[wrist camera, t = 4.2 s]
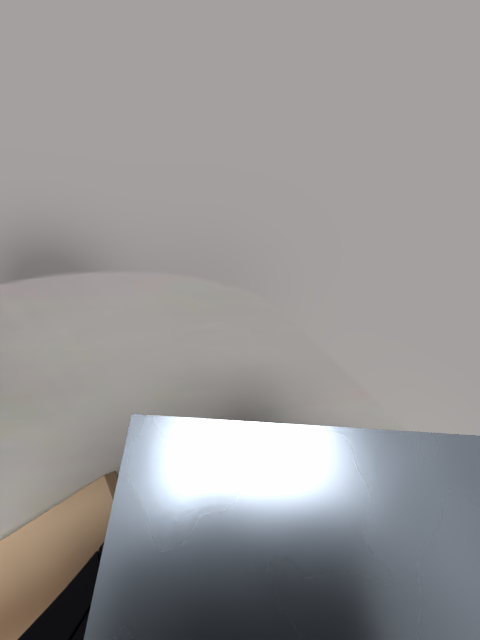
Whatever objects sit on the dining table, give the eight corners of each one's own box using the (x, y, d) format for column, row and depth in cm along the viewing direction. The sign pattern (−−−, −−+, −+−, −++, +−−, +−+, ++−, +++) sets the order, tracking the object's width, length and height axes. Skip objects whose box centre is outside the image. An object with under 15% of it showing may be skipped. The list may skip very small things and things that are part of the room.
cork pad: (177, 637, 13) (170, 661, 12) (-2, 785, 12) (-34, 833, 10) (115, 471, 16) (104, 475, 15) (-36, 566, 14) (-64, 581, 13)
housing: (297, 533, 13) (778, 1366, 2) (203, 527, 14) (-53, 1274, 2) (295, 430, 15) (493, 436, 3) (212, 425, 15) (131, 413, 4)
